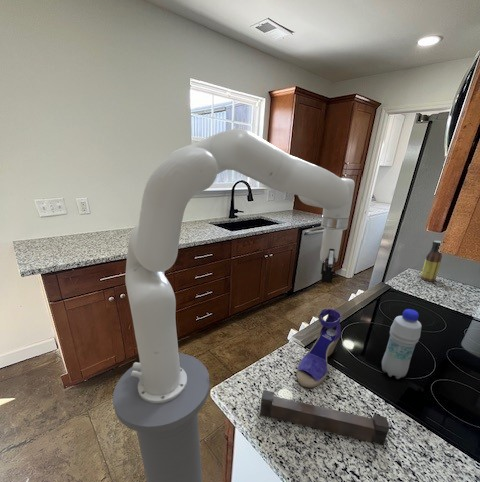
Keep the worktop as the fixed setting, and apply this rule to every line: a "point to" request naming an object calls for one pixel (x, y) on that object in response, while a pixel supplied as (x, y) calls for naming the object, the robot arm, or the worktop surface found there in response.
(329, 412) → the rail
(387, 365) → the bottle
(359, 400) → the worktop surface
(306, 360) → the sandal
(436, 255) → the sauce bottle
